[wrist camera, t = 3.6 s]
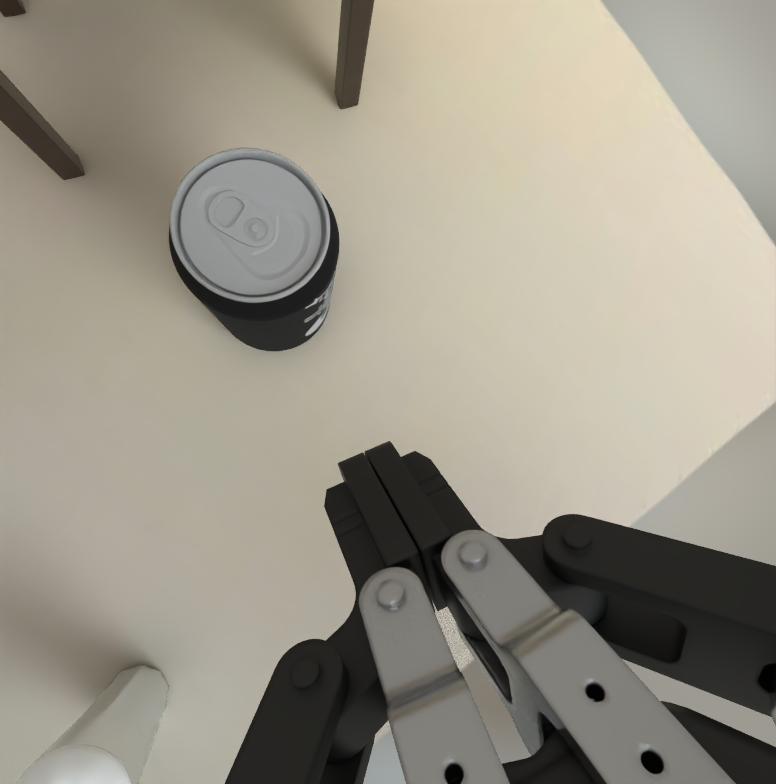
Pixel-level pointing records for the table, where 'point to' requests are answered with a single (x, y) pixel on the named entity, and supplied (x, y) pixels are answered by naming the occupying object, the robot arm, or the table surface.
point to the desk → (41, 138)
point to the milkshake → (107, 735)
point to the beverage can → (256, 246)
